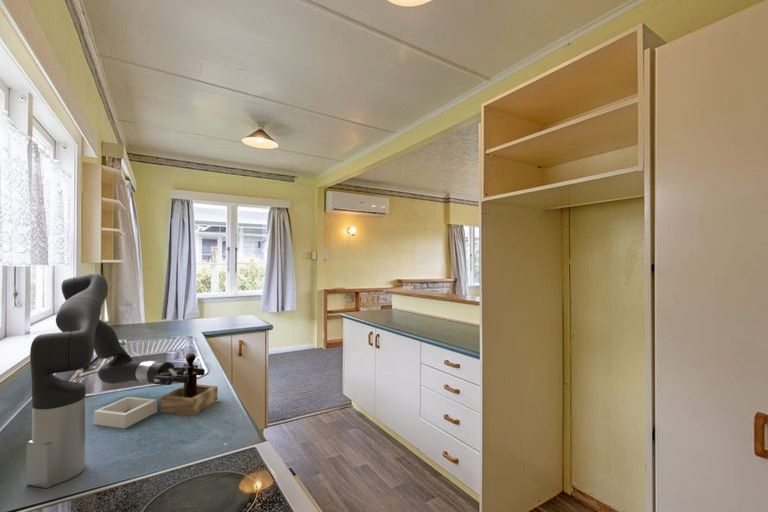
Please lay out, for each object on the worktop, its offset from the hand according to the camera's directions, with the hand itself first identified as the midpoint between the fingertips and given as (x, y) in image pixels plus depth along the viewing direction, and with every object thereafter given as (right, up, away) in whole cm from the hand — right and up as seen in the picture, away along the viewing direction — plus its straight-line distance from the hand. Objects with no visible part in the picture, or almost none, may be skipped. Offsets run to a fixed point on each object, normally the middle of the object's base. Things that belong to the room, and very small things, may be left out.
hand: (196, 375), depth 120 cm
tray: (-17, -10, -9) cm, 22 cm away
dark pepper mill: (-2, -11, 0) cm, 11 cm away
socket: (-2, -10, 0) cm, 11 cm away
